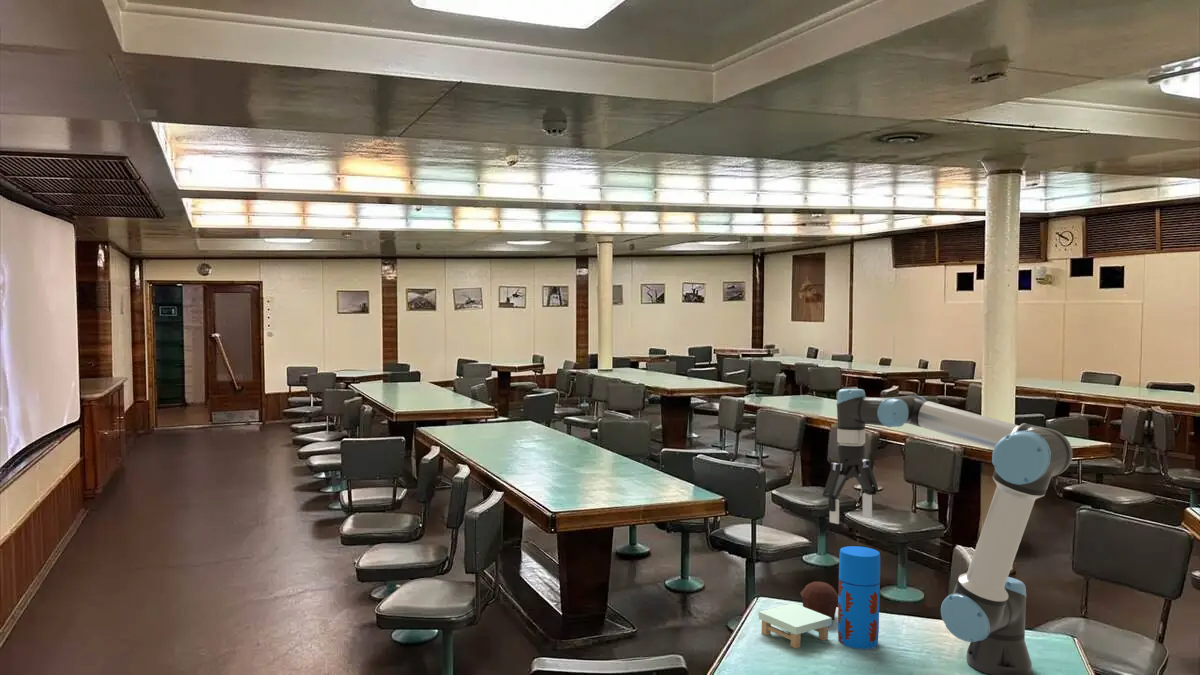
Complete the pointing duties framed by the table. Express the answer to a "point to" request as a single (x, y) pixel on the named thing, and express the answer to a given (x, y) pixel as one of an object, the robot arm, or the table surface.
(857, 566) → the thermos
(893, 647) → the table surface
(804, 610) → the footstool
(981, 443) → the robot arm
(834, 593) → the muffin
